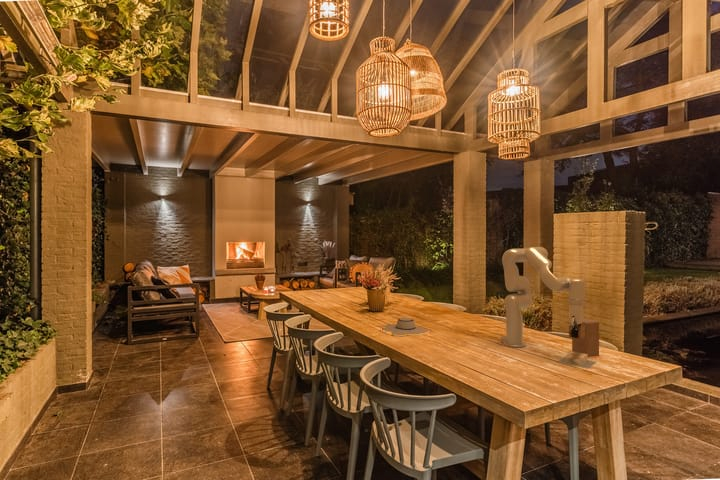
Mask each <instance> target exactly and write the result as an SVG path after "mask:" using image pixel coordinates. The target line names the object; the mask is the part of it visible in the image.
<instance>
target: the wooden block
mask: <svg viewBox="0 0 720 480" xmlns="http://www.w3.org/2000/svg"><path fill="white" fill-rule="evenodd" d="M574 324H576V323H574ZM582 325H583V326H585V337H584V338H582V339H577V338H571V349H572V350H571V351H572V352H577V353H583V354H588V358H591V357H599V356H600V322H599V321H598V320H594V319H590V318H585V317H584V321H583V323H582Z"/></svg>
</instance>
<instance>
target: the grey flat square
mask: <svg viewBox="0 0 720 480" xmlns="http://www.w3.org/2000/svg"><path fill="white" fill-rule="evenodd" d="M557 363H560V364H565V365H569V366H574V367H578V368H584V369H587V370H588V369H590V368H591V367H593V365H595V364H596V363H597V361H594V360H589V359H588V362H587V363H585V364H584V365H578V364H573V363H569V362H566V356H564V357H563V358H561V359H559V360H558V361H557Z"/></svg>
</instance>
